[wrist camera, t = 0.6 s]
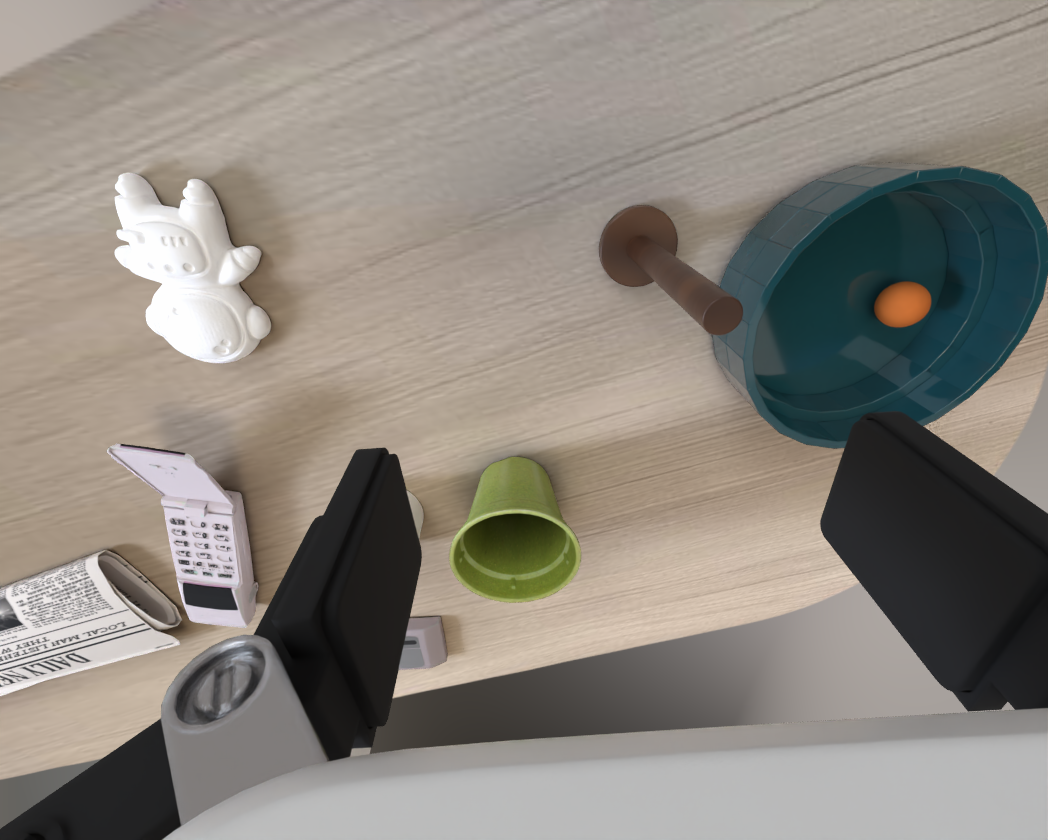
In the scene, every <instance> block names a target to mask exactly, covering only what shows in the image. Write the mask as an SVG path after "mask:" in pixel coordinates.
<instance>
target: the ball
mask: <svg viewBox="0 0 1048 840" xmlns="http://www.w3.org/2000/svg"><path fill="white" fill-rule="evenodd" d="M930 307H931V296H930V293H929V291H928V290H927V289H926V288H925V287H924V286H922V285H920V284H918V283H915V282H908V281H907V282H899V283H895V284H892V285H890V286H889V287H887V288H885V289H884V290H883V291H882V292H881V293H880V294H879V295H878V297H877V299H876V301H875V304H874V311H875V315H876V317H877V318H878V319H879V320H880V321H881V322H882V323H883V324H885V325H888V326H891V327H907V326H910V325H913V324H915V323H917V322H919V321H920V320H921V319H923V318H924V317H925V316H926V314H927V313H928V311H929V309H930Z"/></svg>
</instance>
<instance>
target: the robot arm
mask: <svg viewBox="0 0 1048 840" xmlns="http://www.w3.org/2000/svg"><path fill="white" fill-rule="evenodd" d="M820 525H821V531H822V533H823V535H824V537H825V538H826V540H827V541H828V542H829V544H830V545H831V546H832V547H833V549H834V550H835V551H836V552H837V554H838V555H839V556H840V558H841V559H842V560H843V561H844V563H845V564H846V565H847V567H848V568H849V569H850V570H851V572H852V573H853V574H854V575H855V577H856V578H857V579H858V581H859V582H860V583H861V584H862V586H863V587H864V588H865V589H866V591H867V592H868V593H869V595H870V596H871V597H872V598H873V599H874V601H875V602H876V603H877V605H878V606H879V607H880V609H881V610H882V611H883V612H884V614H885V615H886V616H887V617H888V619H889V620H890V621H891V623H892V624H893V625H894V626H895V628H896V629H897V630H898V632H899V633H900V634H901V635H902V636H903V638H904V639H905V641H906V642H907V643H908V644H909V646H910V647H911V648H912V649H913V651H914V652H915V653H916V655H917V656H918V657H919V658H920V660H921V661H922V662H923V663H924V665H925V666H926V667H927V669H928V670H929V671H930V672H931V674H932V675H933V676H934V677H935V679H936V680H937V681H938V682H939V683H940V684H941V685H942V686H943V687H944V688H946V689H947V690H950V691H952V692H953V693H954V694H955V695H956V697H957V698H958V699H959V701H960V702H961V703H962V704H963V706H964V707H965V708H966V709H967V711H983V710H999V709H1002V707H1003V706H1004V705H1005V704H1006V703H1007V702H1009V703H1010V704H1011V705H1012V707H1013V708H1014V709H1015V710H1005V711H987V712H969V713H952V714H951V713H950V714H932V715H915V716H898V717H897V716H895V717H879V718H862V719H845V720H827V721H810V722H794V723H777V724H761V725H745V726H728V727H711V728H695V729H680V730H663V731H649V732H633V733H619V734H603V735H589V736H588V735H587V736H572V737H557V738H542V739H528V740H511V741H499V742H488V743H476V744H464V745H453V746H440V747H428V748H416V749H404V750H397V751H390V752H382V753H375V754H368V755H360V756H353V757H350V755H351V751H352V749H354V748H371V747H372V745H373V741H374V737H375V732H376V728H377V726H384V725H385V724H386V722H387V720H388V716H389V711H390V706H391V702H392V697H393V693H394V688H395V683H396V679H397V674H398V669H399V665H400V660H401V655H402V651H403V646H404V641H405V637H406V632H407V627H408V623H409V618H410V613H411V609H412V604H413V599H414V595H415V590H416V585H417V580H418V576H419V571H420V566H421V558H422V553H421V546H420V542H419V538H418V534H417V530H416V526H415V522H414V518H413V514H412V510H411V506H410V502H409V498H408V495H407V491H406V487H405V483H404V479H403V475H402V471H401V467H400V463H399V459H398V457H397V455H396V454H389V452H388V450H387V449H386V448H373V449H359V450H356V452H355V453H354V455H353V457H352V459H351V461H350V463H349V465H348V467H347V469H346V471H345V473H344V475H343V477H342V479H341V481H340V483H339V485H338V487H337V489H336V491H335V493H334V495H333V497H332V499H331V501H330V503H329V505H328V507H327V509H326V511H325V513H324V515H322V516H319V517H317V518H315V520H314V521H313V522H312V524H311V526H310V528H309V529H308V531H307V533H306V535H305V537H304V539H303V541H302V543H301V545H300V547H299V549H298V551H297V553H296V554H295V556H294V558H293V560H292V562H291V564H290V566H289V568H288V570H287V572H286V574H285V576H284V578H283V579H282V581H281V583H280V585H279V587H278V589H277V591H276V593H275V595H274V597H273V599H272V601H271V603H270V604H269V606H268V608H267V610H266V612H265V614H264V616H263V618H262V620H261V622H260V624H259V626H258V628H257V629H256V631H255V633H254V635H241V636H237V637H233V638H229V639H226V640H224V641H222V642H220V643H218V644H215V645H213V646H211V647H209V648H208V649H207V650H205V651H204V652H202V653H201V654H199V655H198V656H197V657H195V658H194V659H193V660H192V661H191V662H190V663H189V664H188V665H187V666H186V667H184V668H183V669H182V670H181V671H180V672H179V674H178V675H177V676H176V678H175V679H174V681H173V682H172V684H171V685H170V686H169V688H168V690H167V692H166V695H165V697H164V700H163V702H162V705H161V719H159V720H158V721H157V722H155V723H154V724H152V725H151V726H149V727H148V728H146V729H145V730H143V731H142V732H141V733H139V734H138V735H136V736H135V737H133V738H132V739H130V740H129V741H127V742H126V743H125V744H123V745H122V746H120V747H119V748H117V749H116V750H114V751H113V752H111V753H110V754H109V755H107V756H106V757H104V758H103V759H101V760H100V761H99V762H97V763H96V764H94V765H93V766H91V767H90V768H88V769H87V770H85V771H84V772H82V773H81V774H79V775H78V776H77V777H75V778H74V779H72V780H71V781H69V782H68V783H66V784H65V785H63V786H62V787H61V788H59V789H58V790H56V791H55V792H53V793H52V794H50V795H49V796H47V797H46V798H45V799H43V800H42V801H40V802H39V803H37V804H36V805H34V806H33V807H31V808H30V809H29V810H27V811H26V812H24V813H23V814H21V815H20V816H18V817H17V818H16V819H14V820H13V821H11V822H10V823H8V824H7V825H5V826H4V827H2V828H1V829H0V840H1048V514H1047V513H1046V512H1045V511H1043V510H1042V509H1040V508H1039V507H1037V506H1036V505H1035V504H1033V503H1032V502H1030V501H1029V500H1027V499H1026V498H1025V497H1023V496H1022V495H1020V494H1019V493H1017V492H1016V491H1015V490H1013V489H1012V488H1010V487H1009V486H1007V485H1006V484H1005V483H1003V482H1002V481H1000V480H999V479H997V478H996V477H995V476H993V475H992V474H990V473H989V472H987V471H986V470H985V469H983V468H982V467H980V466H979V465H978V464H976V463H975V462H973V461H972V460H970V459H969V458H968V457H966V456H965V455H963V454H962V453H960V452H959V451H958V450H956V449H955V448H953V447H952V446H950V445H949V444H948V443H946V442H945V441H943V440H942V439H940V438H939V437H938V436H936V435H935V434H933V433H932V432H930V431H929V430H928V429H926V428H925V427H923V426H922V425H920V424H919V423H918V422H916V421H915V420H913V419H912V418H910V417H909V416H908V415H906V414H904V413H902V412H900V411H890V412H877V413H867V414H865V415H863V416H862V417H861V418H860V420H859V421H857V422H855V423H854V424H853V426H852V428H851V431H850V434H849V437H848V440H847V443H846V446H845V449H844V452H843V455H842V458H841V461H840V464H839V467H838V470H837V473H836V476H835V479H834V482H833V485H832V488H831V490H830V493H829V496H828V499H827V502H826V505H825V508H824V511H823V514H822V517H821V522H820Z"/></svg>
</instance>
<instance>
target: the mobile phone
mask: <svg viewBox="0 0 1048 840" xmlns="http://www.w3.org/2000/svg"><path fill="white" fill-rule="evenodd" d="M107 452H108V453H109V454H110V455H111V456H112V458H113V459H114V460H116V461H117V462H118V463H119V464H121V465H124V466H125V467H126V468H127V469H129V470H130V471H131V472H132V473H134V474H135V475H136V476H138V477H139V478H140V479H141V480H143V481H144V482H145V483H147V484H148V485H149V486H151V487H152V488H153V489H154V490H156V491H157V492H158V493H160V494H161V495H162V496H163V498H162V499H161V505H163V506H164V513H165V518H166V524H167V530H168V535H169V541H170V547H171V552H172V556H173V561H174V565H175V570H176V574H177V582H178V586H179V590H180V594H181V598H182V601H183V604H184V607H185V609H186V612H187V615H188V617H189V620H190V621H192V622H196V623H205V624H210V625H212V624H214V625H223V626H232V627H242V628H245V627H247V626H248V624H249V623H250V622H251V620H252V618H253V616H254V614H255V612H256V601H255V596H256V593H257V591H258V586H259V585H258V582H255V581H254V577H253V569H252V560H251V552H250V544H249V537H248V531H247V525H246V519H245V512H244V506H243V500H242V495H241V494H240V492H234V491H227V490H223V488H222V487H221V486H220V485H219V484H218V483H217V482H216V480H215V479H214V478H213V477H212V476H211V475H210V474H209V473H208V472H207V471H206V470H205V469H204V468H203V467H202V466H201V465H200V464H199V463H198V462H197V461H196V460H195V459H194V458H193V457H192V456H191V455H190V454H186V453H181V452H175V451H168V450H162V449H155V448H149V447H141V446H133V445H125V444H116V445H113V446H111V447H109V448H108V450H107Z"/></svg>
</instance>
